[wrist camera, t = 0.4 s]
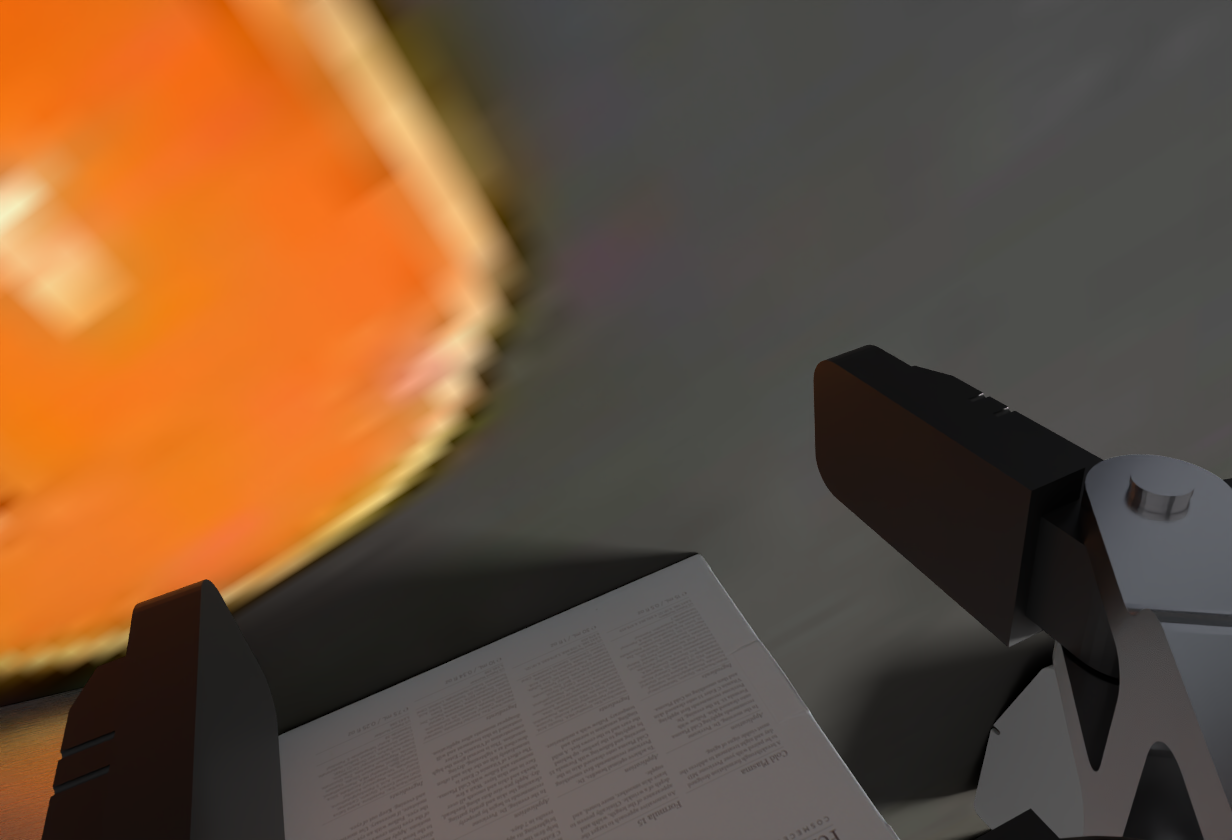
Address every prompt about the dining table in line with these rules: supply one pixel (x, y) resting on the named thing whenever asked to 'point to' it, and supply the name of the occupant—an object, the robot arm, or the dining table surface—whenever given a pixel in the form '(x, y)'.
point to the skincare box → (585, 737)
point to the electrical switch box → (1032, 763)
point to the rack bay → (30, 762)
